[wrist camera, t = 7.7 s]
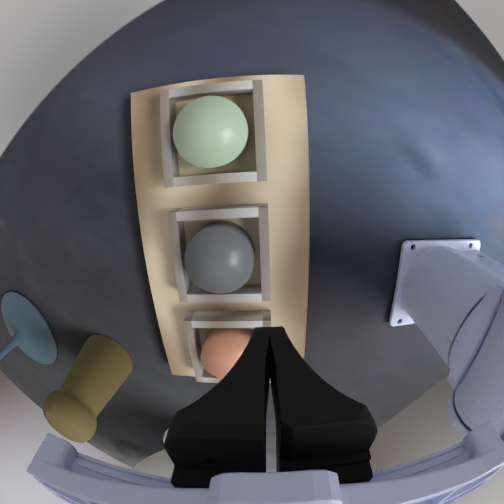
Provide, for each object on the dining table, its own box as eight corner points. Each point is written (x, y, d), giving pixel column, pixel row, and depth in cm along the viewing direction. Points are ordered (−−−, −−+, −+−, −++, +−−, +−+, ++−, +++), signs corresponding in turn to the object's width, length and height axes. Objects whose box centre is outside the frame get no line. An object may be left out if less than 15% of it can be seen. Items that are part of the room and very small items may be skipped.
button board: (301, 80, 17) (307, 68, 14) (300, 365, 24) (304, 387, 22) (139, 96, 17) (121, 89, 14) (176, 364, 25) (168, 385, 22)
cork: (76, 338, 25) (23, 403, 14) (113, 330, 24) (57, 407, 14) (104, 379, 27) (65, 447, 16) (143, 375, 26) (105, 455, 15)
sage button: (247, 99, 16) (245, 92, 14) (250, 164, 17) (249, 165, 15) (180, 106, 16) (171, 100, 14) (184, 169, 18) (175, 171, 16)
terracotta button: (257, 322, 21) (257, 337, 19) (259, 364, 22) (259, 380, 21) (201, 322, 21) (196, 337, 19) (208, 364, 23) (204, 379, 21)
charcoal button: (253, 219, 18) (252, 226, 17) (255, 280, 20) (255, 293, 18) (188, 222, 19) (180, 229, 17) (195, 281, 20) (189, 293, 18)
